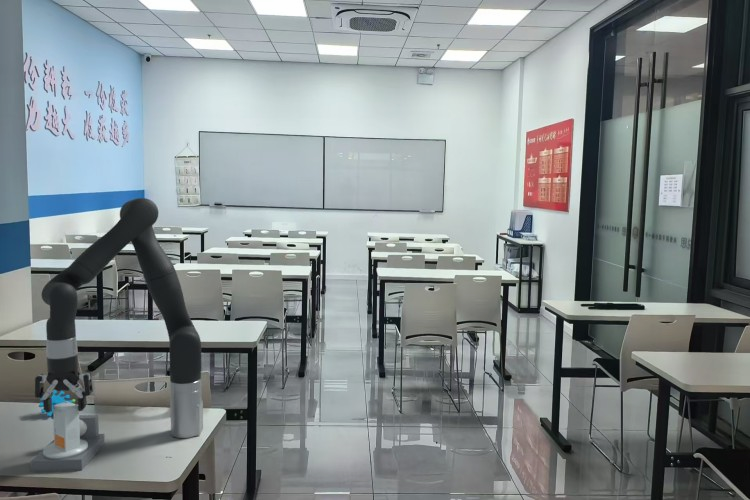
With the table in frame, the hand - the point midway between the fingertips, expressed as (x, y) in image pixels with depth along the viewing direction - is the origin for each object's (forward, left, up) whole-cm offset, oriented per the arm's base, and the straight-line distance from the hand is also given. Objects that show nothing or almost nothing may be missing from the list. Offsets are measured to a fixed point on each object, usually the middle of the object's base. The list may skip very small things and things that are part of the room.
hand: (65, 410), depth 159 cm
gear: (+18, -37, -15) cm, 43 cm away
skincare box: (0, 0, -11) cm, 11 cm away
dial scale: (0, -3, -15) cm, 15 cm away
